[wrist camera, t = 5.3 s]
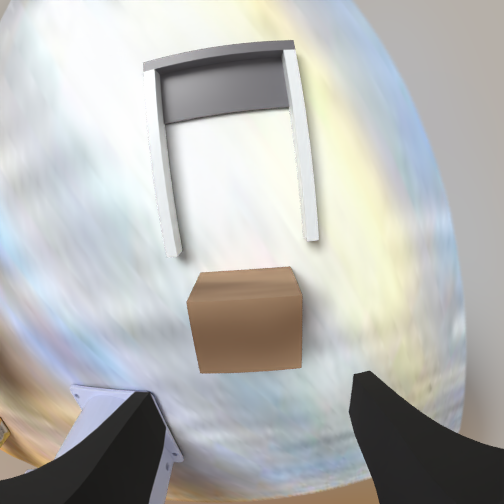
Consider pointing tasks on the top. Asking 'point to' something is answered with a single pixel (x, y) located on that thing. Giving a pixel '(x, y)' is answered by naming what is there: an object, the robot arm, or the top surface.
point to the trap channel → (225, 111)
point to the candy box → (3, 432)
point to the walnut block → (246, 320)
